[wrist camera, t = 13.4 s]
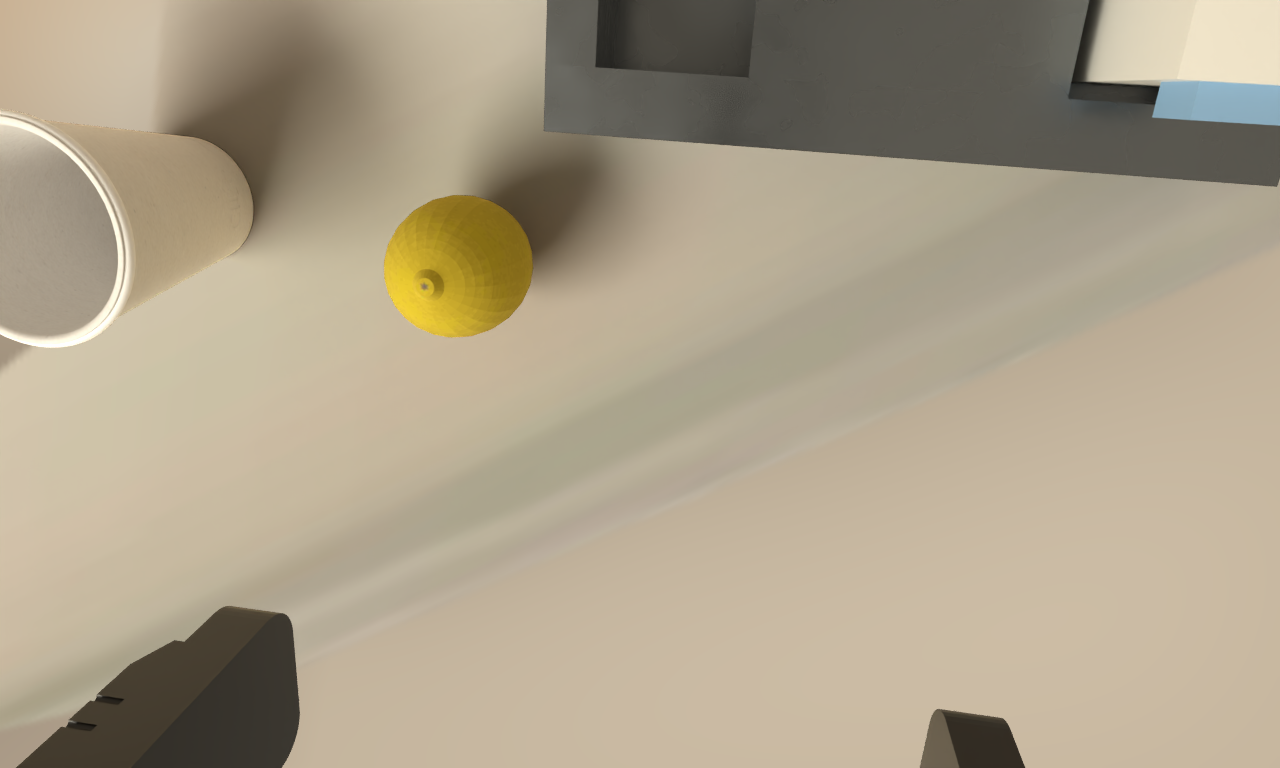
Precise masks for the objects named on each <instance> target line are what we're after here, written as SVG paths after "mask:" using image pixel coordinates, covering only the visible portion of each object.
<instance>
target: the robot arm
mask: <svg viewBox="0 0 1280 768" xmlns="http://www.w3.org/2000/svg"><path fill="white" fill-rule="evenodd" d="M299 716H300V711H299V697H298V685H297V673H296V662H295V650H294V638H293V628H292V624H291V621H290V619H289V617H288V616H287V615H285V614H283V613H276V612H269V611H262V610H255V609H247V608H240V607H233V606H226V607H223V608H221V609H219V610H218V611H217V612H215V613H214V614H213V615H212V616H211V617H210V618H209V619H208V620H207V621H206V622H205V623H204V624H203V625H202V626H201V627H200V628H199V629H198V630H196V631H195V632H194V633H193V634H192V635H191V636H190V637H189V638H188V639H187V640H186V641H185V642H182V641H175V640H174V641H172V642H171V643H169V644H167V645H165V646H163V647H161V648H159V649H158V650H156V651H154V652H152V653H150V654H148V655H147V656H145V657H143V658H141V659H139V660H137V661H135V662H134V663H132V664H130V665H129V666H128V667H127V668H126V669H125V670H123V671H122V672H121V673H120V674H119V675H118V676H117V677H116V678H115V679H114V680H112V681H111V682H110V683H109V684H108V685H107V686H106V687H105V688H104V689H102V690H101V691H100V692H99V693H98V694H97V698H96V700H95V701H89V702H88V703H87V704H86V705H85V706H84V707H83V708H82V709H80V710H79V711H78V712H77V713H76V714H75V715H74V716H73V717H72V718H70V719H69V722H68V725H67V726H66V728H65V727H61V728H60V729H58V730H57V731H56V732H55V733H54V734H53V735H52V736H51V737H50V738H48V740H46V741H45V742H44V743H43V744H42V745H41V746H40V747H38V749H36V750H35V751H34V752H33V753H32V754H31V755H30V756H29V757H28V758H26V759H25V760H24V761H23V762H22V763H21V764H20V765H19V766H17V767H16V768H282V766H283V765H284V763H285V761H286V760H287V758H288V756H289V754H290V752H291V749H292V747H293V744H294V742H295V738H296V735H297V730H298V725H299ZM920 768H1025V766H1024V764H1023V761H1022V758H1021V756H1020V753H1019V751H1018V748H1017V745H1016V743H1015V740H1014V738H1013V735H1012V732H1011V730H1010V728H1009V726H1008V724H1007V723H1006V721H1005V720H1004V719H1002V718H998V717H990V716H984V715H976V714H969V713H962V712H956V711H948V710H942V709H937V710H936V711H935V712H934V713H933V715H932V717H931V721H930V724H929V729H928V733H927V738H926V742H925V747H924V752H923V756H922V760H921V765H920Z"/></svg>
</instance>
